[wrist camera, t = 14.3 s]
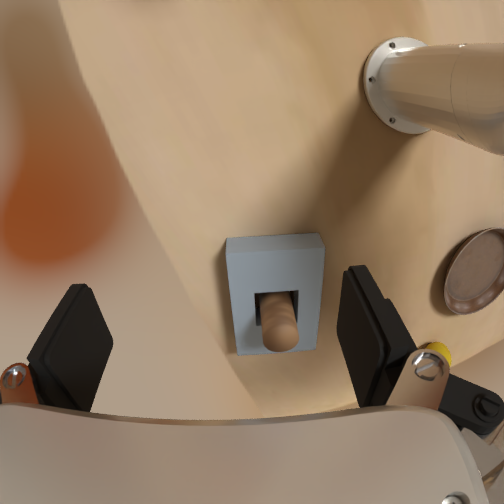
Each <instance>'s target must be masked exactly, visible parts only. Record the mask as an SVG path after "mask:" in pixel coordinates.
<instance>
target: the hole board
mask: <svg viewBox="0 0 504 504" xmlns="http://www.w3.org/2000/svg"><path fill="white" fill-rule="evenodd" d="M324 259H325V246H324V244H323V242H322V239H321V237H320V235H319V233H305V234H287V235H270V236H253V237H237V238H227V242H226V262H227V271H228V280H229V289H230V298H231V306H232V315H233V323H234V331H235V339H236V347H237V355H238V356H239V355H257V354H272V353H285V352H297V351H307V350H315V349H316V341H317V333H318V324H319V315H320V305H321V294H322V283H323V272H324ZM293 290H294V305H293V310H294V314H295V319H296V324H297V329H298V334H299V342H298V344H297V345H296V346H295V347H294V348H292V349H291V350H288V351H285V352H273V351H270V350H268V349H267V348H266V347H265V346H264V344H263V338H262V326H261V314H260V307H258V308H255V299H254V293H264V292H279V291H293Z"/></svg>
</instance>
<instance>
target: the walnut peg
mask: <svg viewBox="0 0 504 504" xmlns="http://www.w3.org/2000/svg"><path fill="white" fill-rule="evenodd" d="M259 302H260V314H261V326H262V338H263V344H264V346H265V347H266V348H267V349H268V350H270V351H273V352H285V351H288V350H291V349H292V348H294V347H295V346H296V345H297V344H298V342H299V334H298V329H297V324H296V319H295V314H294V310H293V305H292V300H291V296H290V291H279V292H264V293H259Z"/></svg>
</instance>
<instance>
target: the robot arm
mask: <svg viewBox="0 0 504 504" xmlns="http://www.w3.org/2000/svg"><path fill="white" fill-rule="evenodd" d="M389 44H390V46H391V47H389ZM369 78H370V79H371V82H369ZM363 83H364V90H365V94H366V97H367V100H368V102H369V104H370V106H371V108H372V110H373V111H374V112H375V114H376V115H377V117H378V118H379V119H381V120H382V121H383V122H384V123H385V124H386V125H388V126H389V127H391V128H393V129H395V130H397V131H400V132H403V133H407V134H419V133H424V132H427V131H429V130H431V129H432V130H434V131H437V132H440V133H443V134H445V135H448V136H451V137H453V138H456V139H458V140H461V141H464V142H466V143H468V144H471V145H473V146H476V147H478V148H481V149H483V150H485V151H488V152H490V153H493V154H496V155H502V156H504V43H474V44H448V45H434V46H428V45H427V44H425V43H423V42H421V41H420V40H417V39H414V38H410V37H396V38H391V39H388V40H386V41H384V42H382V43H380V44H379V45H378V46H376V47H375V48H374V49H373V51H372V52H371V53H370V55H369V57H368V59H367V61H366V64H365V68H364V75H363ZM390 118H391V121H389V119H390ZM337 336H338V339H339V342H340V345H341V348H342V351H343V355H344V358H345V361H346V364H347V368H348V371H349V374H350V377H351V381H352V384H353V387H354V391H355V394H356V398H357V401H358V404H359V407H360V408H356V409H347V410H340V411H333V412H325V413H316V414H307V415H297V416H286V417H275V418H261V419H239V420H172V419H152V418H138V417H125V416H116V415H107V414H99V413H91V412H90V410H91V407H92V404H93V401H94V398H95V395H96V392H97V389H98V386H99V383H100V380H101V378H102V374H103V372H104V369H105V366H106V364H107V361H108V358H109V355H110V353H111V350H112V347H113V338H112V336H111V334H110V331H109V329H108V327H107V325H106V322H105V320H104V318H103V316H102V313H101V311H100V308H99V306H98V304H97V301H96V299H95V296H94V294H93V291H92V289H91V288H89V287H88V286H87V285H86V284H72V285H71V286H70V287H69V289H68V291H67V292H66V294H65V295H64V297H63V298H62V300H61V301H60V303H59V304H58V306H57V308H56V309H55V311H54V312H53V314H52V315H51V317H50V319H49V320H48V322H47V324H46V325H45V327H44V329H43V330H42V332H41V334H40V335H39V337H38V339H37V341H36V342H35V344H34V346H33V348H32V350H31V351H30V353H29V355H28V357H27V359H28V361H29V362H30V363H29V365H28V366H27V365H26V364H24V363H15V364H12V365H11V366H9V367H7V369H5V370H4V372H3V373H2V375H1V377H0V504H504V402H503V400H502V399H501V398H500V397H499V395H497V394H496V393H494V392H492V391H490V390H487V389H485V388H483V387H480V386H478V385H475V384H473V383H471V382H468V381H466V380H463V379H461V378H459V377H457V376H455V375H452V374H450V366H449V363H448V361H447V360H446V358H445V357H444V356H443V355H442V354H441V353H439V352H437V351H435V350H431V349H420V350H418V349H417V347H416V345H415V343H414V341H413V339H412V338H411V336H410V334H409V332H408V330H407V328H406V326H405V325H404V323H403V321H402V319H401V317H400V315H399V314H398V312H397V310H396V308H395V307H394V305H393V303H392V302H391V300H390V299H388V298H387V299H385V298H384V297H383V295H382V293H381V291H380V289H379V288H378V286H377V284H376V282H375V281H374V279H373V277H372V275H371V274H370V272H369V270H368V269H367V267H366V266H365V265H358V266H350V267H349V268H348V270H347V271H344V273H343V281H342V290H341V298H340V306H339V313H338V321H337ZM478 470H479V471H480V473H481V476H482V478H481V476H480V473H479V471H478Z"/></svg>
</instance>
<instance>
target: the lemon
mask: <svg viewBox="0 0 504 504" xmlns="http://www.w3.org/2000/svg"><path fill="white" fill-rule="evenodd" d="M425 349H431V350H435V351H437V352H439V353H441V354H442V355H443V356H444V357H445V358H446V360H447V361H448V363H449V366H451V354H450V352H449V350H448V348H447V347H446V346H445V345H444V344H443V343H440V342H433V343H429V344H428V346H427V347H426V348H425Z"/></svg>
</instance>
